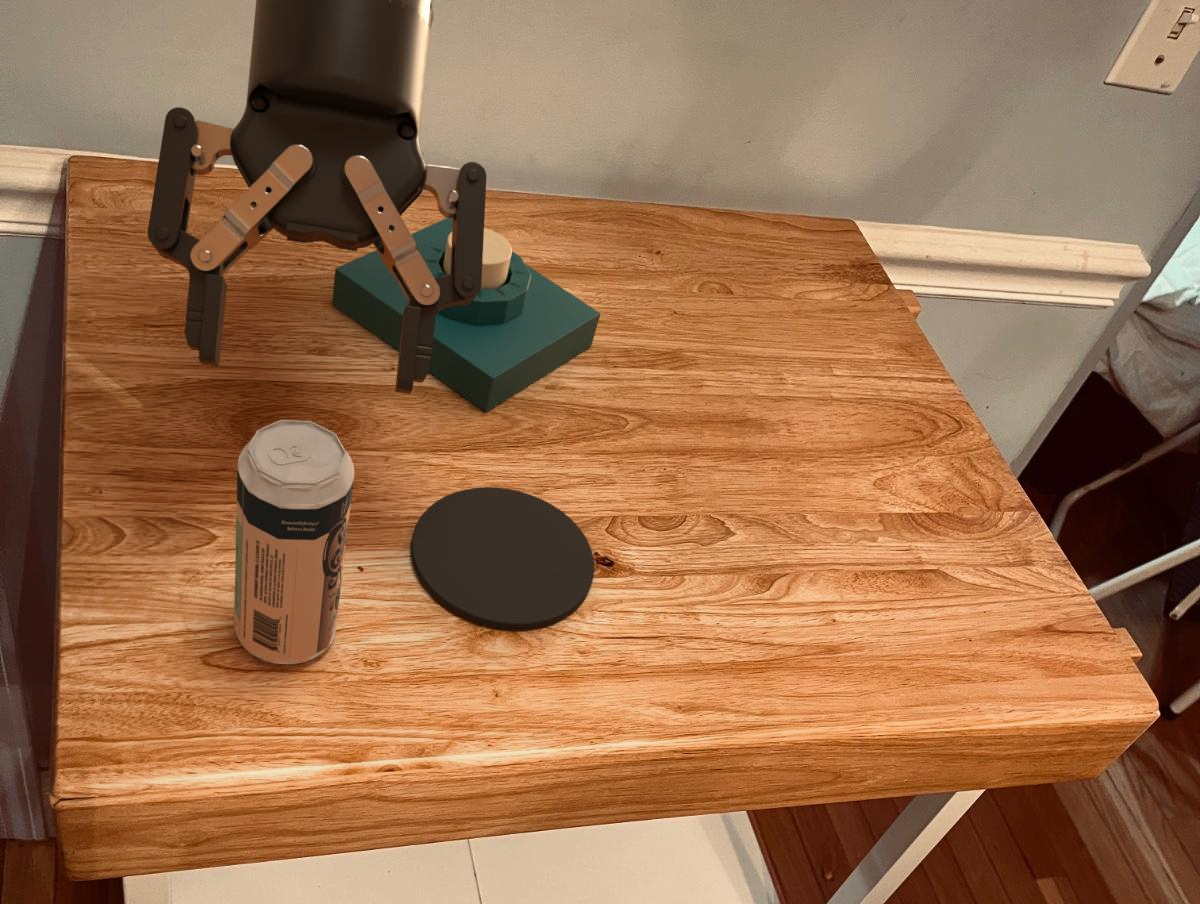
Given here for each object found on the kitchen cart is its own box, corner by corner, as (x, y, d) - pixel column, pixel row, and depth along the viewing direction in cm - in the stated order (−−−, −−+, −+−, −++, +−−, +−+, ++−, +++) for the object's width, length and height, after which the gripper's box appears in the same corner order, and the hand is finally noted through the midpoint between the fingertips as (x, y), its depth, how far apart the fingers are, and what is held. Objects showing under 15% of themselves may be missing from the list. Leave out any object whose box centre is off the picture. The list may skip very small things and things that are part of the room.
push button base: (331, 304, 76) (337, 243, 72) (446, 249, 83) (455, 191, 79) (485, 412, 72) (498, 354, 69) (591, 346, 79) (607, 290, 76)
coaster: (371, 551, 63) (372, 543, 62) (492, 469, 69) (494, 461, 69) (515, 662, 60) (517, 655, 60) (627, 566, 67) (629, 559, 66)
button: (429, 266, 74) (434, 238, 72) (471, 246, 76) (476, 218, 75) (478, 299, 73) (483, 271, 71) (518, 278, 75) (525, 250, 74)
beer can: (350, 655, 58) (374, 479, 49) (254, 682, 56) (261, 501, 47) (314, 585, 60) (331, 404, 52) (220, 607, 58) (221, 422, 49)
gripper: (163, -66, 47) (126, 344, 48) (517, 10, 50) (475, 393, 51) (186, 10, 54) (153, 365, 55) (493, 72, 58) (457, 407, 59)
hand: (308, 378), depth 53 cm, fingers open, 8 cm apart
